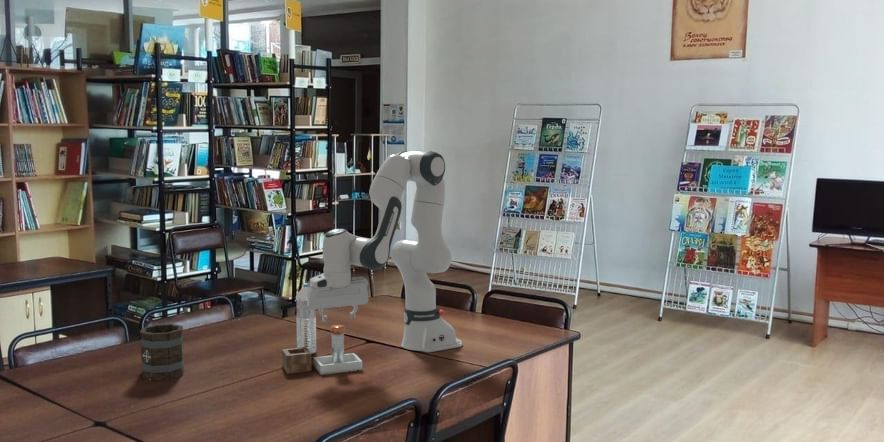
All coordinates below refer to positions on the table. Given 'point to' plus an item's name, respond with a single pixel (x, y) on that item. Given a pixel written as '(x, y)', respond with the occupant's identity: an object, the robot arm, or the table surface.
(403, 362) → the table surface
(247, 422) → the table surface
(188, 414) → the table surface
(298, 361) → the block
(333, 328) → the pin
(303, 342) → the water bottle
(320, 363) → the tray
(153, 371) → the mug
